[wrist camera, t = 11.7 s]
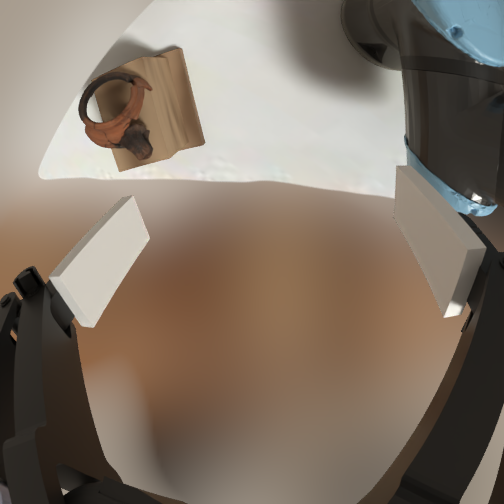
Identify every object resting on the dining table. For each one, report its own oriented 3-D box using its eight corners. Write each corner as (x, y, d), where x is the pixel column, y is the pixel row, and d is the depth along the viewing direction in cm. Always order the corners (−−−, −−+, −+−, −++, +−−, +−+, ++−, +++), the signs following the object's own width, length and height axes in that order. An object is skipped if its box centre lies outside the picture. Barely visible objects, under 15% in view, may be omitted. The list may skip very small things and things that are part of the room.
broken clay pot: (88, 127, 31) (59, 109, 23) (138, 79, 31) (119, 50, 23) (137, 184, 33) (112, 175, 25) (192, 132, 33) (181, 108, 24)
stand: (182, 48, 33) (155, 44, 25) (205, 142, 42) (186, 162, 34) (115, 74, 35) (79, 79, 27) (140, 159, 44) (111, 181, 36)
